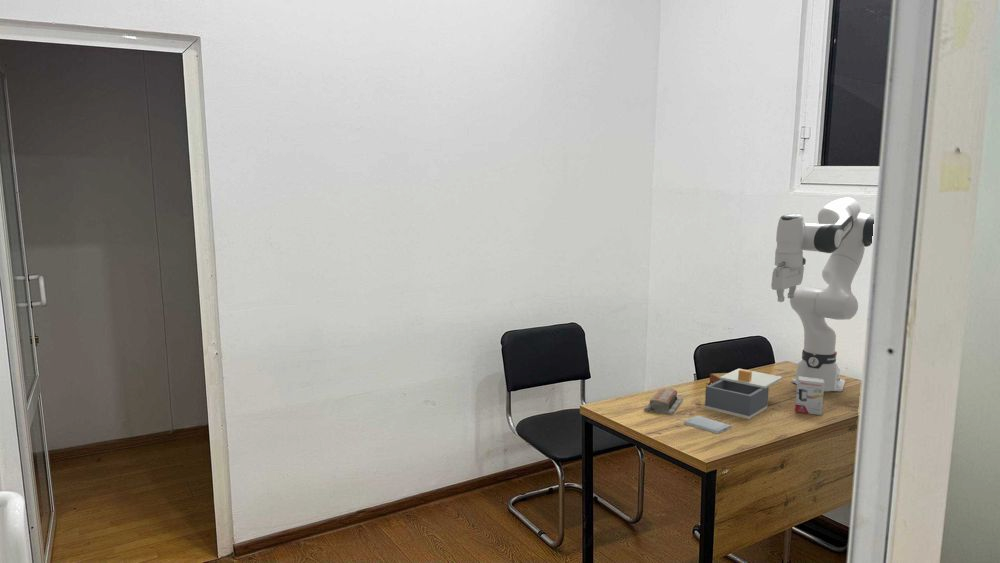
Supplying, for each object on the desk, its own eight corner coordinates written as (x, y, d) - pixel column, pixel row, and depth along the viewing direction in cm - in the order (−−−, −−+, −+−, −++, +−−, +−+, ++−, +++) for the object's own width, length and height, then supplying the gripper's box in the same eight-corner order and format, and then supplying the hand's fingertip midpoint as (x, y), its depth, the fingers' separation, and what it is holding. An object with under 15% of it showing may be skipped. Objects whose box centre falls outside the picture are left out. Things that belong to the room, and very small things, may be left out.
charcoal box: (724, 398, 251) (725, 377, 250) (767, 408, 241) (768, 386, 240) (704, 408, 240) (706, 386, 239) (749, 419, 229) (750, 396, 228)
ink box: (794, 412, 237) (797, 379, 235) (794, 408, 241) (797, 375, 239) (822, 415, 233) (824, 382, 231) (821, 411, 238) (824, 378, 236)
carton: (727, 382, 273) (728, 372, 272) (750, 394, 257) (751, 383, 257) (709, 383, 271) (709, 373, 270) (731, 395, 256) (731, 384, 255)
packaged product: (673, 402, 232) (644, 398, 236) (672, 416, 232) (644, 412, 237) (683, 388, 248) (656, 385, 252) (683, 401, 248) (656, 397, 253)
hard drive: (684, 420, 224) (718, 430, 215) (697, 415, 229) (731, 424, 220) (684, 425, 224) (718, 435, 215) (697, 419, 230) (731, 429, 221)
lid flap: (738, 370, 260) (739, 359, 259) (782, 379, 248) (783, 367, 248) (719, 379, 247) (720, 367, 247) (765, 388, 236) (765, 376, 236)
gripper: (786, 264, 227) (784, 304, 229) (807, 259, 242) (805, 297, 244) (767, 262, 231) (765, 302, 233) (789, 257, 246) (787, 295, 248)
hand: (785, 299), depth 238 cm, fingers open, 8 cm apart
